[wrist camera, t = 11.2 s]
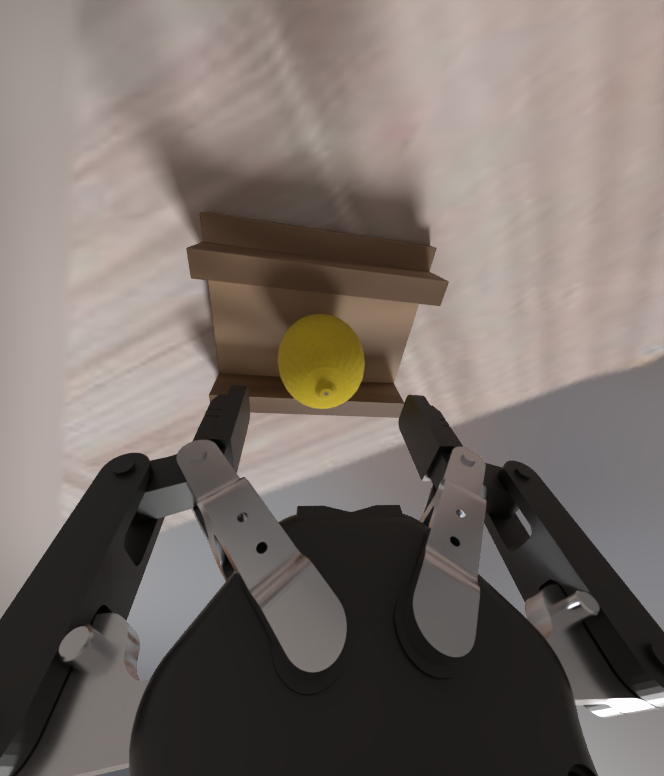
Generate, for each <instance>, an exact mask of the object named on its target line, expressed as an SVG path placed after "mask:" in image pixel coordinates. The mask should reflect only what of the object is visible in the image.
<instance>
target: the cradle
mask: <svg viewBox="0 0 664 776" xmlns="http://www.w3.org/2000/svg"><path fill="white" fill-rule="evenodd" d="M200 218H201V227H202V235H203V242H201V243H198V244H196V245H193V246H191V247H188V248H186V249H187V255H188V262H189V268H190V275H191V278H193V279H202V280H208V285H209V293H210V301H211V310H212V318H213V326H214V334H215V343H216V351H217V359H218V368H219V375H218V377H217V379H216V381H215V383H214V385H213V387H212V390H211V392H210V394H209V398H210V402H211V401H212V400H213V399H214V398H215V397H216V396H218V395H219V394H225V395H227V394H228V392H229V389H230V386H231V385H232V384H236V385H248V387H249V402H250V412H254V413H282V414H310V415H338V416H366V417H394V418H399V417H400V414H401V411H402V409H403V406H404V402H403V400H402V398H401V396H400V394H399V392H398V391H397V389H396V387H395V385H394V381H395V377H396V374H397V371H398V368H399V365H400V362H401V359H402V355H403V352H404V349H405V346H406V343H407V340H408V337H409V333H410V330H411V327H412V324H413V321H414V318H415V315H416V311H417V308H418V305H419V304H426V305H435V306H440V305H441V302H442V299H443V297H444V294H445V291H446V288H447V286H448V283H449V282H448V281H446V280H444V279H443V278H441V277H439V276H437V275H435V274H433V273H431V272H429V270H430V267H431V264H432V261H433V258H434V255H435V252H436V248H435V247H432V246H427V245H420V244H414V243H407V242H400V241H394V240H387V239H380V238H374V237H367V236H361V235H354V234H347V233H341V232H334V231H327V230H321V229H314V228H307V227H301V226H294V225H287V224H281V223H274V222H267V221H261V220H254V219H247V218H241V217H234V216H228V215H221V214H214V213H208V212H200ZM319 313H320V314H329V315H332V316H334V317H337V318H340V319H341V320H343V321H344V322H345V323H347V324H348V325H349V326H350V327H351V328H352V329H353V331H354V332H355V333H356V334H357V336H358V338H359V340H360V343H361V345H362V348H363V352H364V361H365V367H364V373H363V378H362V381H361V383H360V385H359V388H358V390H357V391H356V392H355V393H354V395H353V396H352V397H351V398H350V399H348V400H347V401H346V402H344V403H343V404H341V405H338V406H336V407H332V408H328V409H317V408H311V407H309V406H306V405H303V404H302V403H300V402H299V401H297V400H296V399H294V397H293V396H292V395H291V394H290V393H289V392H288V391H287V389H286V387H285V385H284V383H283V381H282V379H281V377H280V373H279V367H278V352H279V346H280V343H281V341H282V339H283V336H284V334H285V333H286V331H287V330H288V329H289V328H290V326H291V325H292V324H294V323H295V322H296V321H298V320H299V319H300V318H303V317H305V316H308V315H312V314H319Z"/></svg>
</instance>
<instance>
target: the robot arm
mask: <svg viewBox="0 0 664 776" xmlns="http://www.w3.org/2000/svg"><path fill="white" fill-rule="evenodd" d="M249 419H250V402H249V387H248V385H236V384H232V385H231V386H230V389H229V392H228V394H227V395H225V394H219V395H218V396H216V397H215V398H214V399H213V400H212V401H211V402H210V404H209V407H208V410H207V411H206V413H205V417H204V418H203V420H202V422H201V424H200V426H199V428H198V431H197V433H196V435H195V437H194V439H193V441H192V442H190V443H188V444H186V445H185V446H183V447H182V448H181V449H180V450H179V452H178V454H176V455H173V456H170V457H166V458H161V459H156V460H152V461H149V458H148V457H147V456H146V455H144V454H141V453H129V454H124V455H121V456H118V457H116V458H114V459H112V460H111V461H109V462H108V463H107V464H106V465H105V466H104V467H103V468H102V469H101V470H100V472H99V473H98V475H97V476H96V478H95V479H94V481H93V482H92V484H91V485H90V487H89V488H88V490H87V491H86V493H85V494H84V496H83V497H82V499H81V500H80V502H79V503H78V505H77V506H76V508H75V509H74V511H73V512H72V514H71V515H70V517H69V518H68V519H67V521H66V522H65V524H64V525H63V527H62V528H61V530H60V531H59V533H58V534H57V536H56V537H55V539H54V540H53V542H52V543H51V545H50V546H49V548H48V549H47V551H46V552H45V554H44V555H43V557H42V558H41V560H40V562H39V563H38V564H37V566H36V567H35V569H34V570H33V572H32V573H31V575H30V576H29V578H28V579H27V581H26V582H25V584H24V585H23V587H22V588H21V590H20V591H19V593H18V594H17V595H16V597H15V599H14V600H13V602H12V603H11V605H10V606H9V607H8V609H7V610H6V612H5V613H4V615H3V616H2V618H1V619H0V776H94V775H99V774H102V773H107V772H111V771H116V770H119V769H124V768H128V767H129V770H130V776H598V774H597V772H596V769H595V767H594V764H593V762H592V759H591V756H590V754H589V751H588V749H587V745H586V742H585V739H584V736H583V733H582V729H581V726H580V722H579V719H578V714H577V709H576V705H583V706H585V707H586V708H587V709H588V710H589V711H591V712H592V713H594V714H596V715H598V716H600V717H613V716H619V715H625V714H631V713H637V712H643V711H649V710H655V709H662V708H664V632H663V630H662V629H661V628H660V627H659V625H658V624H657V623H656V622H655V621H654V619H653V618H652V617H651V616H650V614H649V613H648V612H647V610H646V609H645V608H644V607H643V606H642V604H641V603H640V602H639V600H638V599H637V598H636V597H635V596H634V594H633V593H632V592H631V591H630V589H629V588H628V587H627V585H626V584H625V583H624V582H623V580H622V579H621V578H620V577H619V576H618V574H617V573H616V572H615V571H614V569H613V568H612V567H611V566H610V564H609V563H608V562H607V561H606V559H605V558H604V557H603V556H602V554H601V553H600V552H599V551H598V549H597V548H596V547H595V546H594V544H593V543H592V542H591V541H590V539H589V538H588V537H587V536H586V534H585V533H584V532H583V531H582V529H581V528H580V527H579V526H578V524H577V523H576V522H575V521H574V519H573V518H572V517H571V516H570V514H569V513H568V512H567V511H566V510H565V508H564V507H563V506H562V504H561V503H560V502H559V501H558V500H557V498H556V497H555V496H554V495H553V493H552V492H551V491H550V489H549V488H548V487H547V486H546V485H545V483H544V482H543V481H542V480H541V478H540V477H539V476H538V475H537V473H536V472H535V471H533V470H532V469H531V468H530V467H528V466H527V465H525V464H523V463H520V462H517V461H508V462H506V463H505V464H504V466H503V467H498V466H494V465H491V464H487V463H485V462H484V460H483V458H482V457H481V456H480V455H479V454H478V453H476V452H475V451H473V450H471V449H469V448H466V447H463V445H462V444H461V443H460V441H459V439H458V438H457V436H456V435H455V434H454V432H453V430H452V429H451V427H449V424H448V423H447V421H445V418H444V417H443V415H442V414H441V412H440V411H438V410H437V409H436V408H435V407H434V406H430V404H429V403H428V401H427V400H426V398H425V397H424V396H420V395H408V396H407V398H406V400H405V403H404V406H403V409H402V411H401V414H400V417H399V429H400V431H401V433H402V436H403V438H404V440H405V443H406V445H407V447H408V450H409V452H410V454H411V457H412V459H413V461H414V464H415V466H416V468H417V471H418V473H419V475H420V478H421V480H422V481H432V483H433V486H432V487H431V489H430V492H429V495H428V498H427V501H426V503H425V506H424V509H423V512H422V515H421V517H420V520H419V521H418V520H417V519H415V518H413V517H411V516H408V515H405V514H402V511H401V508H400V505H375V506H372V507H368V508H365V509H361V510H358V511H355V512H347V511H343V510H339V509H335V508H331V507H326V506H298V507H297V514H296V515H293V516H290V517H288V518H285V519H283V520H282V521H280V522H278V521H277V520H276V519H275V517H274V516H273V515H272V513H271V512H270V510H269V509H268V507H267V506H266V505H265V503H264V502H263V500H262V499H261V498H260V496H259V495H258V493H257V492H256V491H255V489H254V488H253V487H252V485H251V484H250V482H249V481H248V480H247V479H246V478H245V477H243V478H239V476H238V475H237V470H238V465H239V461H240V457H241V453H242V449H243V445H244V441H245V437H246V433H247V428H248V424H249ZM188 509H192V511H193V513H194V515H195V517H196V519H197V521H198V523H199V525H200V527H201V529H202V531H203V533H204V535H205V537H206V539H207V541H208V543H209V545H210V548H211V550H212V553H213V555H214V558H215V560H216V562H217V565H218V567H219V569H220V571H221V573H222V575H223V577H224V579H225V581H226V582H225V584H224V585H223V586H222V587H221V589H220V590H219V591H218V592H217V593H216V595H215V596H214V597H213V599H212V600H211V601H210V602H209V603H208V604H207V606H206V607H205V608H204V609H203V610H202V612H201V613H200V614H199V615H198V617H197V618H196V619H195V620H194V621H193V623H192V624H191V625H190V626H189V627H188V629H187V630H186V631H185V632H184V633H183V635H182V636H181V637H180V638H179V640H178V641H177V642H176V643H175V644H174V646H173V647H172V648H171V649H170V650H169V652H168V653H167V654H166V656H165V657H164V658H163V660H162V661H161V662H160V664H159V665H158V667H157V669H156V670H155V672H154V673H153V675H152V677H151V679H150V681H140V679H139V677H138V674H137V660H138V655H139V650H140V640H139V636H138V634H137V632H136V631H135V630H134V629H133V628H132V627H131V626H130V624H129V623H128V622H127V621H126V620H127V617H128V615H129V612H130V610H131V607H132V604H133V601H134V599H135V596H136V593H137V591H138V588H139V585H140V583H141V580H142V577H143V574H144V572H145V569H146V566H147V563H148V561H149V558H150V555H151V553H152V550H153V547H154V545H155V542H156V539H157V537H158V534H159V531H160V529H161V526H162V523H163V520H164V518H165V516H168V515H171V514H175V513H178V512H181V511H185V510H188ZM519 509H520V510H521V512H522V513H523V515H524V516H525V518H526V519H527V521H528V522H529V524H530V526H531V530H532V535H531V537H530V536H529V534H528V533H527V531H526V529H525V528H524V526H523V525H522V523H521V522H520V520H519V518H518V517H517V515H516V514H515V513H516V512H517V511H518V510H519ZM484 523H485V525H486V527H487V529H488V531H489V533H490V535H491V537H492V538H493V541H494V543H495V544H496V547H497V549H498V551H499V552H500V555H501V556H502V558H503V560H504V562H505V564H506V566H507V568H508V570H509V572H510V574H511V576H512V578H513V580H514V582H515V584H516V586H517V588H518V590H519V592H520V593H521V595H522V597H523V599H524V601H525V613H526V617H527V619H526V618H525V617H524V616H523V615H522V614H521V613H520V612H519V611H518V610H517V609H516V608H515V607H513V606H512V605H511V604H510V603H509V602H508V601H507V600H506V599H505V598H504V597H503V596H502V595H501V594H499V593H498V592H497V591H496V590H495V589H494V588H493V587H492V586H491V585H490V584H489V583H488V582H486V581H485V580H484V579H483V578H482V577H481V576H480V575H479V574H478V569H479V561H480V553H481V545H482V536H483V528H484Z"/></svg>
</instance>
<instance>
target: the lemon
mask: <svg viewBox="0 0 664 776" xmlns="http://www.w3.org/2000/svg"><path fill="white" fill-rule="evenodd" d="M278 367H279V373H280V377H281V379H282V381H283V383H284V385H285V387H286V389H287V391H288V392H289V393H290V394H291V395H292V396H293V397H294V399H296V400H297V401H299V402H300V403H302V404H303V405H306V406H309V407H311V408H317V409H328V408H332V407H336V406H338V405H341V404H343V403H344V402H346V401H347V400H348V399H350V398H351V397H352V396H353V395H354V393H355V392H356V391H357V390H358V388H359V385H360V383H361V381H362V378H363V373H364V367H365V361H364V352H363V348H362V345H361V343H360V340H359V338H358V336H357V334H356V333H355V332H354V331H353V329H352V328H351V327H350V326H349V325H348V324H347V323H345V322H344V321H343V320H341V319H340V318H337V317H334V316H332V315H329V314H320V313H319V314H312V315H308V316H305V317H303V318H300V319H299V320H298V321H296V322H295V323H294V324H292V325H291V326H290V328H289V329H288V330H287V331H286V333H285V334H284V336H283V339H282V341H281V343H280V346H279V352H278Z"/></svg>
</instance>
